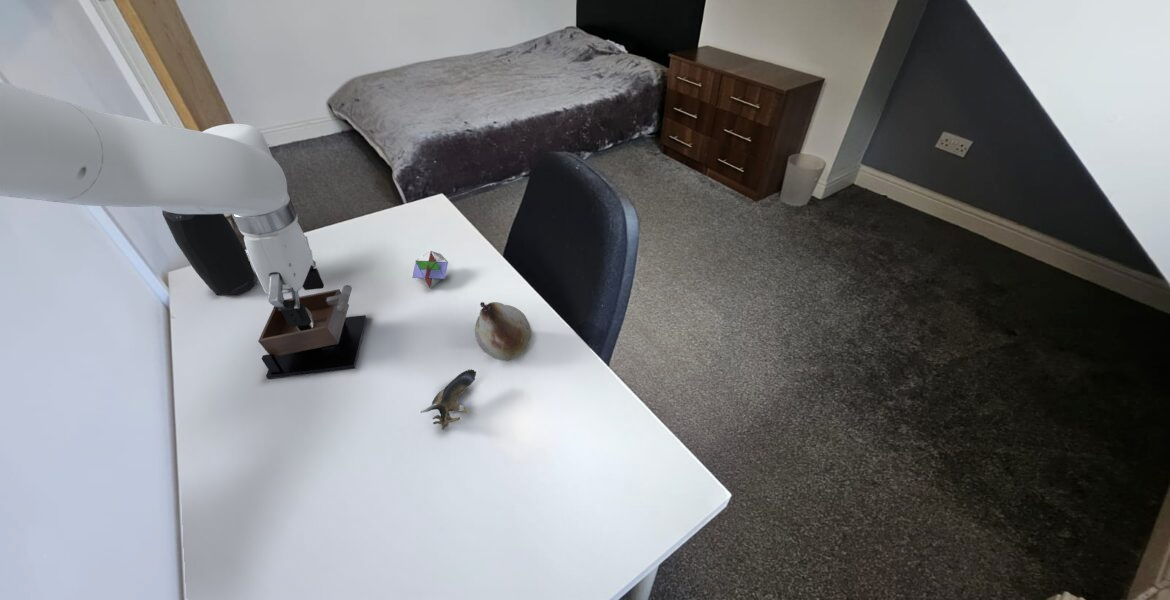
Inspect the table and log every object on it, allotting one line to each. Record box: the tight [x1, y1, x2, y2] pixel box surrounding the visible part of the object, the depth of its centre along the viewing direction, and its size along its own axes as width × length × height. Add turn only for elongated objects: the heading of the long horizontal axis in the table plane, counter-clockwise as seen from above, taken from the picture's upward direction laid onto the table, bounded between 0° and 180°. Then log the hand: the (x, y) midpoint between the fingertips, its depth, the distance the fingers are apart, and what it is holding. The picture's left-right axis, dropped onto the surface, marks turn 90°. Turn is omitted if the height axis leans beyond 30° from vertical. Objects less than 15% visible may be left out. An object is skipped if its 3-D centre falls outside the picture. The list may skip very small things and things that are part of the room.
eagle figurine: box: [420, 368, 477, 431], centre depth 74 cm, size 8×7×9 cm
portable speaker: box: [162, 210, 256, 296], centre depth 91 cm, size 9×9×20 cm
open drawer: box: [257, 284, 353, 356], centre depth 80 cm, size 14×10×6 cm
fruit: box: [474, 301, 532, 362], centre depth 82 cm, size 10×9×12 cm
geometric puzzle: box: [411, 250, 449, 290], centre depth 98 cm, size 7×7×8 cm
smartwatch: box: [297, 308, 314, 331], centre depth 80 cm, size 4×2×4 cm, turn 17°
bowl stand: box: [261, 314, 368, 380], centre depth 84 cm, size 14×13×5 cm
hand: (307, 305), depth 79 cm, fingers open, 9 cm apart
